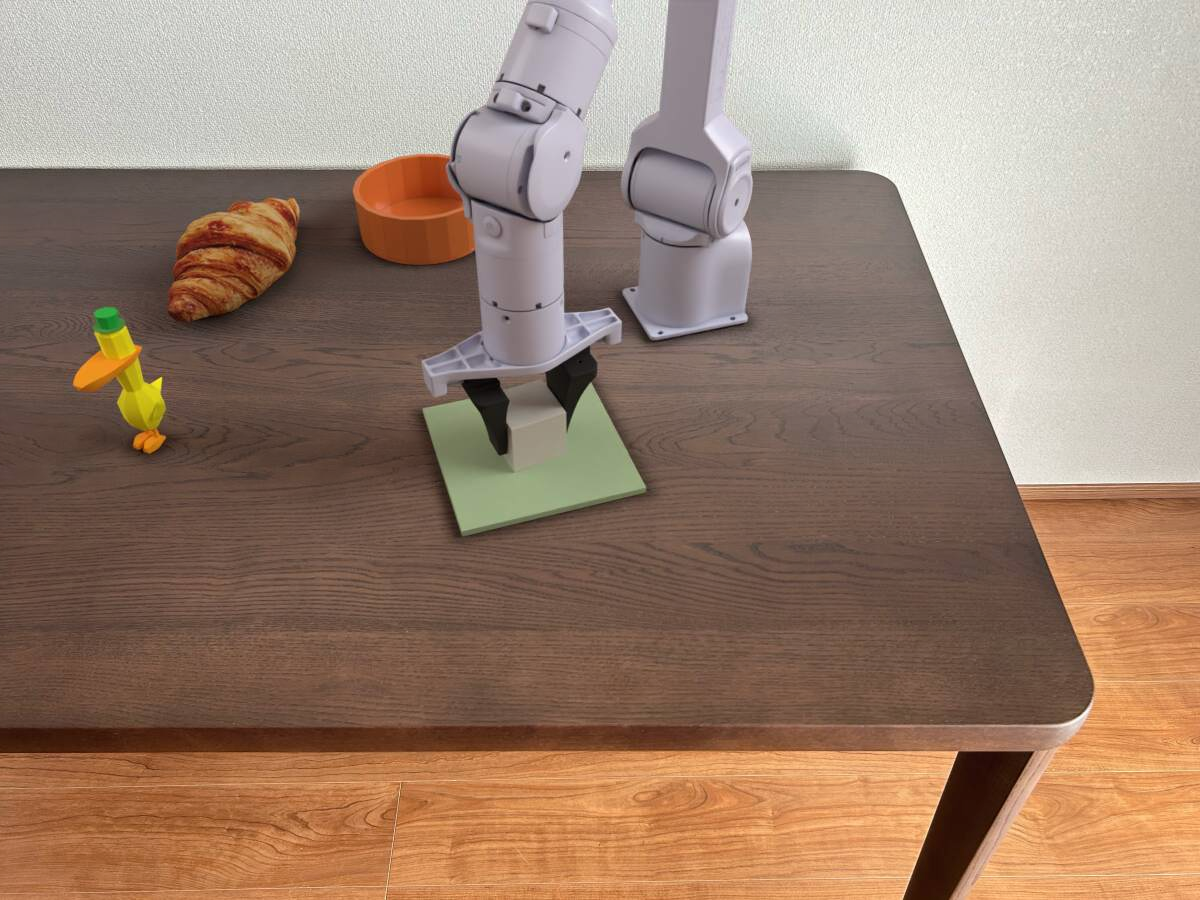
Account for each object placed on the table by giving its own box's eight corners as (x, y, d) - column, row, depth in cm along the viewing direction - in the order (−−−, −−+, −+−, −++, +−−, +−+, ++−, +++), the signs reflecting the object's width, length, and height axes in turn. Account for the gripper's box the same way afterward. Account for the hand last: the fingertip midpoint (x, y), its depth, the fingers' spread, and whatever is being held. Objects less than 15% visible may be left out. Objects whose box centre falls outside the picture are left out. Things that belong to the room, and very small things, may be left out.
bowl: (474, 189, 105) (470, 146, 102) (505, 252, 96) (503, 206, 93) (352, 208, 102) (344, 164, 99) (372, 274, 93) (364, 228, 90)
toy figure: (135, 479, 73) (78, 352, 64) (98, 465, 74) (37, 338, 65) (195, 424, 77) (149, 298, 69) (160, 412, 78) (110, 287, 70)
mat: (586, 379, 82) (587, 374, 81) (646, 492, 72) (646, 487, 72) (423, 413, 78) (422, 407, 78) (462, 537, 69) (461, 531, 68)
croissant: (278, 244, 103) (230, 178, 99) (348, 215, 98) (301, 145, 94) (166, 361, 88) (104, 289, 83) (244, 333, 83) (182, 255, 79)
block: (543, 421, 77) (541, 378, 74) (567, 455, 74) (566, 412, 71) (491, 437, 76) (488, 394, 73) (514, 473, 73) (511, 430, 70)
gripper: (591, 234, 70) (590, 380, 79) (398, 283, 65) (421, 432, 74) (638, 284, 65) (631, 433, 75) (434, 340, 61) (453, 492, 70)
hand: (528, 436), depth 74 cm, fingers closed on block, 4 cm apart
